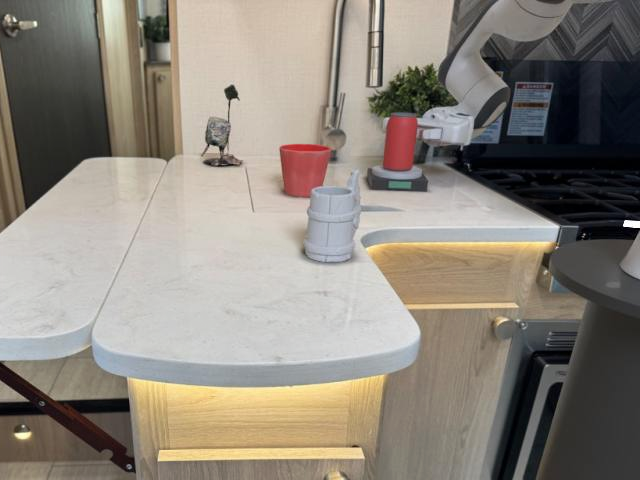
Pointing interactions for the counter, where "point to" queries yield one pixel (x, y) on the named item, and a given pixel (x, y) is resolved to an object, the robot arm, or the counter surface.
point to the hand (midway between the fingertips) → (403, 132)
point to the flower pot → (303, 167)
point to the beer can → (400, 141)
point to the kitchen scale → (396, 179)
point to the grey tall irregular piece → (221, 132)
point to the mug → (333, 221)
